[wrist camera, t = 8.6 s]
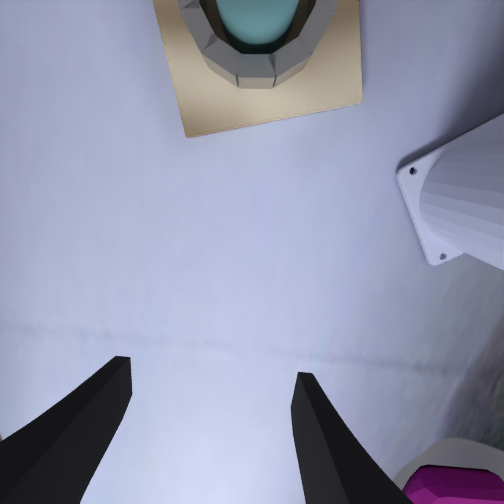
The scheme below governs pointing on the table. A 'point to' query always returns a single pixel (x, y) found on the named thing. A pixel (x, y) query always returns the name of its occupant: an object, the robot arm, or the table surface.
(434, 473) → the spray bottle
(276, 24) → the teal cylinder
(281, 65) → the socket collar
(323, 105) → the dock plate
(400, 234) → the table surface
